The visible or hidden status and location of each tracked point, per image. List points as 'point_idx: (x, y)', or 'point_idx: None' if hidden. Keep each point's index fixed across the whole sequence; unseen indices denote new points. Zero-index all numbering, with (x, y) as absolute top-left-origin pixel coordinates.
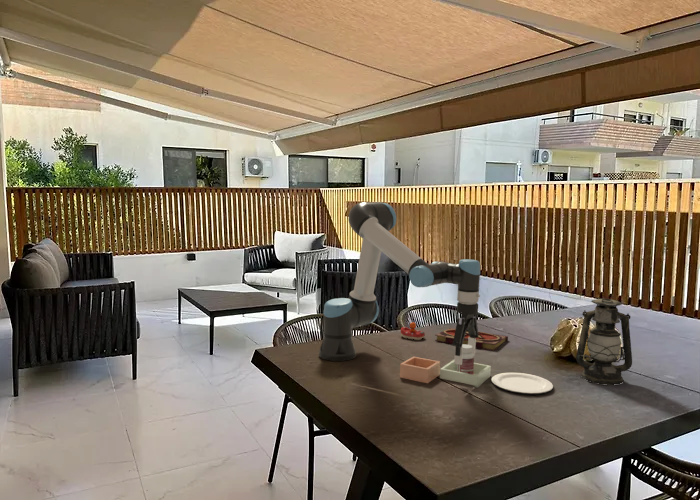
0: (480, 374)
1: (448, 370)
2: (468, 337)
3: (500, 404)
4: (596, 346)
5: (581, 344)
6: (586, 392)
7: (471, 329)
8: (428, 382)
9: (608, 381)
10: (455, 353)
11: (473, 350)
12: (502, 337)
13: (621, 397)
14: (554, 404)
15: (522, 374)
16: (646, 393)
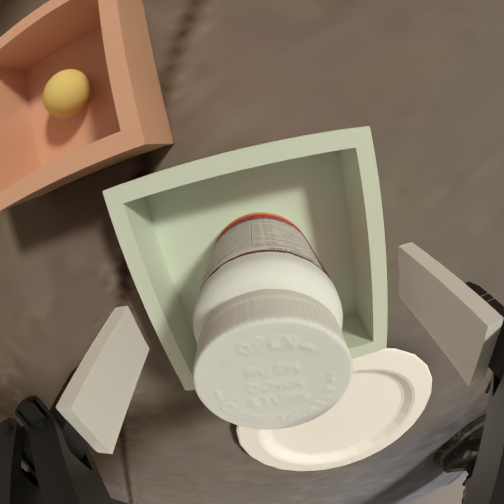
0: None
1: (123, 245)
2: (489, 326)
3: (141, 435)
4: None
5: None
6: (375, 474)
7: (472, 493)
8: (43, 194)
9: (439, 465)
10: (68, 377)
11: (416, 310)
12: None
13: (378, 491)
14: (255, 483)
15: (416, 391)
16: (416, 486)
